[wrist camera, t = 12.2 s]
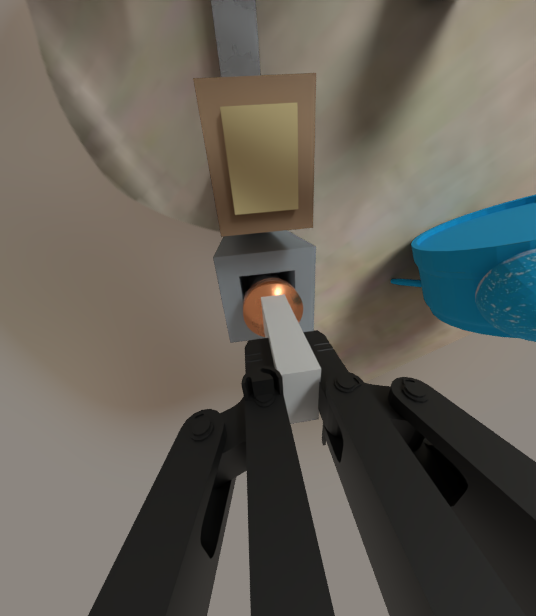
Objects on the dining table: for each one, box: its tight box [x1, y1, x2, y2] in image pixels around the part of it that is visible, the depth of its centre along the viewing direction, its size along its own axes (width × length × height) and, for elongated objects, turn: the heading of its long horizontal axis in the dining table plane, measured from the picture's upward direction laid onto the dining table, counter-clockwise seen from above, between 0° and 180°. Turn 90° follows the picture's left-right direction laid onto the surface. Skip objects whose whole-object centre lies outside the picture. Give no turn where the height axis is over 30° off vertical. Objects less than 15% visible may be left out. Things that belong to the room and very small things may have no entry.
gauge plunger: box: [243, 272, 303, 337], centre depth 17 cm, size 4×4×7 cm
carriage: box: [193, 73, 316, 237], centre depth 15 cm, size 6×5×12 cm
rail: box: [211, 0, 260, 77], centre depth 17 cm, size 20×3×2 cm, turn 5°
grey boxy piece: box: [213, 230, 316, 342], centre depth 20 cm, size 7×7×10 cm
